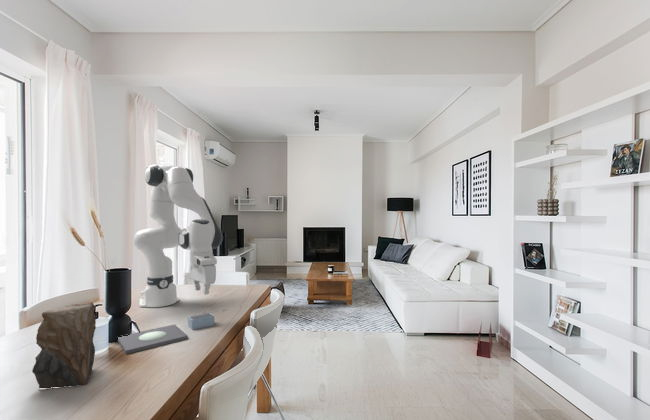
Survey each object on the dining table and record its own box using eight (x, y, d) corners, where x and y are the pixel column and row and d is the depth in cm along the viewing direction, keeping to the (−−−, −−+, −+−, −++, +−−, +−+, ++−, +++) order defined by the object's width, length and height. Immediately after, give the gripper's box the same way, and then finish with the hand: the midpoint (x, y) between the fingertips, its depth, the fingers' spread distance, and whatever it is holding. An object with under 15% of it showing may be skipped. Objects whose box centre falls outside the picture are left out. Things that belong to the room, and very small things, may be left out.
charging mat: (117, 339, 121) (117, 336, 121) (174, 327, 134) (174, 323, 134) (125, 354, 109) (125, 350, 109) (187, 338, 122) (187, 335, 122)
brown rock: (30, 392, 86) (30, 316, 86) (56, 369, 98) (56, 302, 98) (85, 385, 89) (85, 312, 89) (104, 364, 101) (104, 300, 101)
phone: (188, 327, 135) (188, 316, 135) (209, 322, 141) (209, 312, 141) (192, 330, 131) (192, 320, 131) (214, 325, 137) (214, 315, 137)
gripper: (185, 257, 142) (185, 289, 142) (202, 261, 126) (203, 297, 126) (199, 255, 146) (200, 286, 146) (218, 260, 130) (219, 294, 130)
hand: (201, 292), depth 136 cm, fingers open, 8 cm apart
